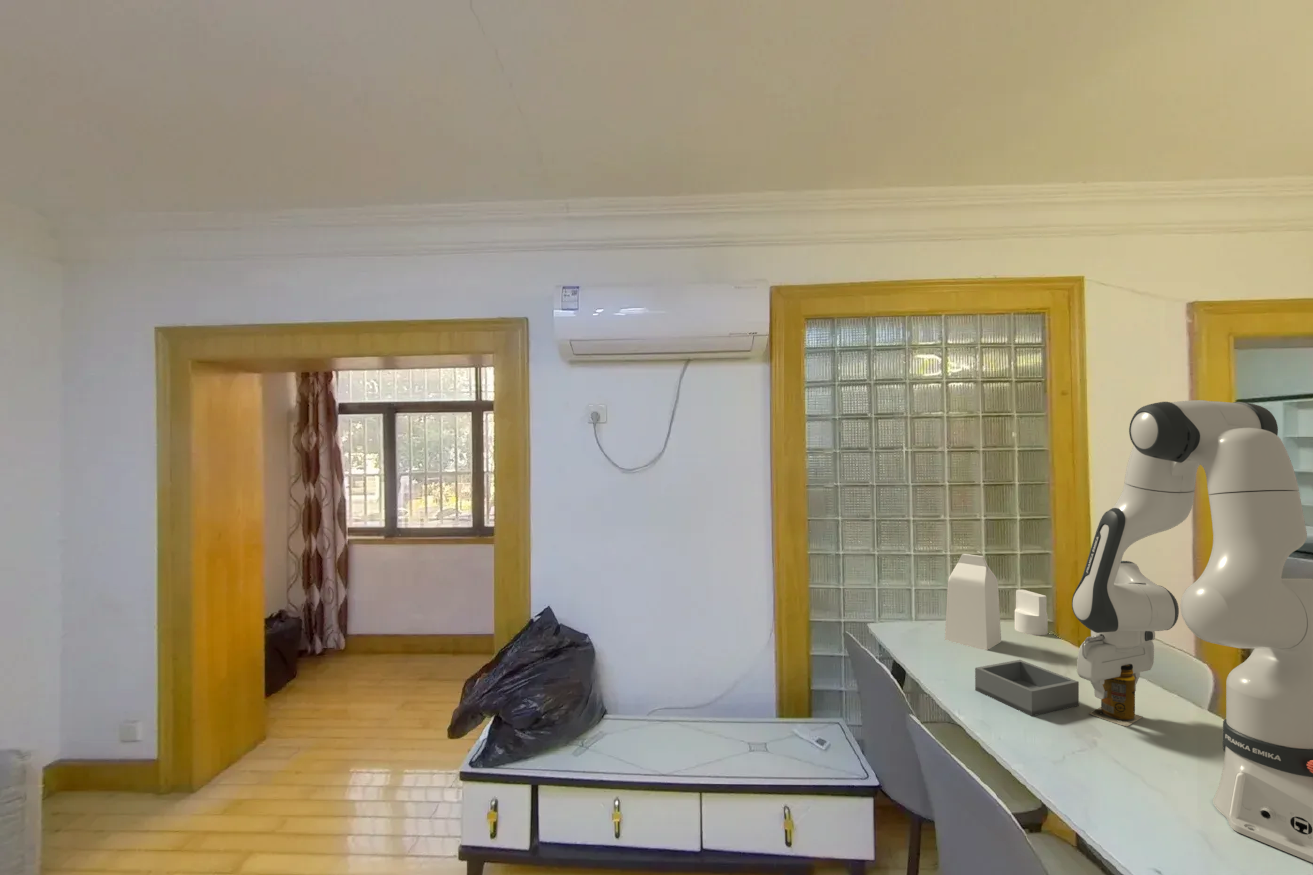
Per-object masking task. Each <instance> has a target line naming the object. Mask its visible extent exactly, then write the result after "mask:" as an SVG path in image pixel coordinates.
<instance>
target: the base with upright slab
mask: <svg viewBox="0 0 1313 875" xmlns="http://www.w3.org/2000/svg"><path fill="white" fill-rule="evenodd" d="M1048 618H1049V617H1048V613H1047V596H1046V595H1044V594H1040V593H1037V592H1033V591H1030V590H1026V589H1015V609H1014V630H1015V631H1016V632H1019V633H1021V634H1026V635H1031V636H1033V635H1034V636H1045V635H1047V634H1048V629H1049V628H1048V626H1049V624H1048V623H1049V622H1048V621H1049V620H1048Z"/></svg>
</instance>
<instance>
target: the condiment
mask: <svg viewBox="0 0 1313 875" xmlns="http://www.w3.org/2000/svg"><path fill="white" fill-rule="evenodd" d="M1102 685H1103V688H1104V690H1106V691H1107V698H1105V699H1100V707H1098V708H1095V709H1093V710H1092V711H1089V713H1088V714H1090V715H1092V717H1097V718H1100V719H1102V720H1105V721H1108V722H1110V723H1114V724H1117V725H1120V726H1123V727H1129V726H1130V725H1132V724H1133V723H1135V722H1137V721H1139V720H1140V719H1142V718H1143V716H1142V715H1140V714H1136V694H1135V693H1136V691H1135V677H1134V676H1133V665H1132V664H1129V665H1123V666H1121V675H1120V676H1119V677H1115V678H1111V679H1106V680H1104V684H1102Z"/></svg>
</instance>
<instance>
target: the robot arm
mask: <svg viewBox="0 0 1313 875" xmlns="http://www.w3.org/2000/svg"><path fill="white" fill-rule="evenodd" d="M1278 429H1279V428H1278V422H1277V420H1276V418H1275V416H1274V415H1273V413H1272V412H1271V411H1270V410H1268V408H1266V407H1265V406H1264V407H1263V406H1261V405H1258V404H1253V403H1250V402H1244V401H1233V402H1228V401H1227V402H1226V401H1212V400H1204V399H1203V400H1202V399H1199V400H1198V399H1193V400H1181V401H1172V402H1171V401H1160V402H1154V403H1150V404H1149V403H1148V404H1147V405H1143V406H1141V407H1140V408H1138V409H1137V410H1136V411H1135V413H1134V414H1133V416H1132V418H1131V420H1130V422H1129V428H1128V433H1129V438H1130V441H1131V443H1132V444H1133V446H1132V448H1131V450H1130V451H1131V452H1130V455H1129V458H1128V462H1127V465H1126V470H1125V475H1124V483H1123V488H1122V490H1121V493H1120V496H1119V498H1118V499H1117V501H1116V503H1115V504H1114V505H1113V506H1112V508H1110V509H1109V510H1107V511H1105V512H1104V514H1103V515H1102V516H1101V518H1100V520H1099V523H1098V526H1097V529H1096V532H1095V533H1094V534H1095V535H1094V537H1093V539H1092V540H1093V541H1092V543H1091V544H1092V545H1091V547H1090V551H1089V554H1088V557H1087V561H1086V563H1085V567H1084V571H1083V572H1082V573H1083V574H1082V576H1081V579H1080V580H1079V583H1078V585H1077V586H1076V588H1075V590H1074V592H1073V595H1072V598H1071V609H1072V612H1073V615H1074V616H1075V618H1076V619H1077V620H1078V621H1079V622H1080V623H1081V624H1082V625H1083V626H1085V628H1087V629H1089V630H1090V636H1087V637H1085V640H1084V641H1083V642H1082V643H1081V645H1080V646H1079V649H1078V653H1077V661H1076V673H1077V675H1078V677H1079V678H1082V679H1084V680H1086V681H1089V682H1090V684H1091V686H1092V687H1093V689H1094V697H1096V698H1097V699H1100V700H1101V699H1105V698H1107V691H1106V690H1104V688H1103V685H1102V684H1104V680H1106V679H1111V678H1115V677H1119V676H1120V675H1121V666H1123V665H1129V664H1132V665H1133V676H1134V677H1135V692H1136V691H1137V683H1138V681H1139V679H1140V678H1141V673H1143V672H1148V671H1151V670H1152V667H1153V666H1154V663H1155V661H1154V660H1155V644H1154V642H1153V641H1155V639H1156V632H1163V631H1168V630H1171V629H1172V628H1173V627H1175V625H1176V623H1177V622H1178V619H1179V613H1180V614H1181V617H1182V619H1183V622H1184V623H1185V625H1186V626H1187V628H1188V629H1189V630H1190V632H1192V633H1193V635H1195V636H1196V637H1197V638H1199V639H1200V640H1202V641H1204V642H1207V643H1211V644H1214V645H1215V644H1216V645H1218V646H1219V645H1220V646H1225V647H1231V648H1234V649H1235V648H1236V649H1252V652H1251V653H1250V655H1249V657H1247V659H1245V660H1244V662H1242V663H1240V664H1239V665H1237V666H1235V667H1234V668H1233V669H1232V670H1231V671H1230V672H1229V674H1228V675H1227V677H1226V685H1225V686H1226V688H1225V689H1226V690H1225V691H1226V692H1225V693H1226V694H1225V695H1226V697H1225V698H1226V700H1225V702H1226V703H1225V704H1226V706H1225V707H1226V708H1225V709H1226V710H1225V711H1226V713H1225V714H1226V715H1225V716H1226V717H1225V718H1224V720H1223V721H1222V732H1221V733H1222V735H1221V736H1222V737H1221V738H1222V749H1223V752H1224V759H1223V760H1224V761H1223V766H1222V772H1221V776H1220V781H1219V784H1218V787H1217V790H1216V792H1215V795H1214V797H1213V799H1212V803H1213V805H1214V807H1215V808H1216V809H1217V810H1218V811H1219V812H1220V813H1221V814H1222V815H1223V816H1224V817H1225V818H1226V819H1227V821H1228V824H1229V826H1230V828H1231V829H1232V830H1234V831H1235V832H1236V833H1239V834H1242V835H1244V836H1247V837H1248V838H1251V839H1254V840H1256V841H1259V842H1261V843H1263V844H1266V845H1268V846H1271V847H1273V848H1276V849H1278V850H1280V851H1283V852H1285V853H1288V854H1291V855H1292V856H1296V857H1298V858H1300V859H1302V860H1304V861H1307V862H1309V863H1312V864H1313V578H1282V577H1283V570H1284V567H1285V564H1286V561H1287V560H1288V558H1289V556H1290V555H1291V554H1293V553H1294V552H1296V551H1297V550H1299V549H1300V548H1302V547H1303V546H1304V544H1305V543H1306V542H1307V537H1308V532H1307V527H1306V522H1305V516H1304V515H1305V514H1304V511H1303V506H1302V505H1303V504H1302V501H1301V500H1302V499H1301V494H1300V489H1299V484H1298V480H1297V476H1296V472H1295V470H1294V467H1293V464H1292V461H1291V458H1290V456H1289V453H1288V451H1287V449H1286V447H1285V444H1284V442H1283V440H1281V438H1280V437H1279V436H1278V433H1279V432H1278V431H1279V430H1278ZM1200 466H1201V467H1202V468H1203V470H1204V472H1205V476H1206V485H1207V487H1206V488H1207V495H1208V501H1209V508H1210V515H1211V516H1210V517H1211V522H1212V523H1211V524H1212V526H1211V527H1212V535H1213V536H1212V538H1213V539H1212V547H1211V553H1210V556H1209V560H1208V562H1207V564H1206V566H1205V568H1204V570H1203V571H1202V573H1201V575H1199V577H1198V579H1197V580H1195V581H1194V582H1193V583H1192V584H1191V585H1189V586H1188V587H1187V588H1186V589H1185V590H1184V592H1183V593H1182V595H1181V598H1180V605H1179V604H1178V601H1177V598H1175V595H1173V592H1171V591H1170V590H1168V589H1167V588H1166V587H1164V586H1163V585H1158V584H1156V583H1155V582H1154V581H1152V580H1150V579H1149V578H1148V577H1146V576H1145V575H1144V574H1143V573H1142V572H1141V570H1140V568H1139V566H1138V564H1137V563H1135V562H1133V561H1129V560H1122V559H1123V557H1124V554H1125V553H1126V551H1127V549H1128V548H1129V547H1131V546H1132V545H1133V544H1136V543H1137V542H1138V541H1140V540H1143V539H1144V538H1147V537H1150V536H1152V535H1156V534H1159V533H1162V532H1166V531H1169V530H1171V529H1174V528H1175V527H1176V526H1178V525H1180V524H1182V523H1183V522H1185V521H1186V520H1187V518H1188V517H1189V516H1190V513H1191V511H1192V508H1193V505H1194V498H1195V491H1196V490H1195V489H1196V483H1197V471H1198V469H1199V467H1200ZM1179 606H1180V607H1179ZM1179 608H1180V611H1179Z"/></svg>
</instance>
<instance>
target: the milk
mask: <svg viewBox="0 0 1313 875" xmlns="http://www.w3.org/2000/svg"><path fill="white" fill-rule="evenodd" d="M998 581H999V580H998V579H997V577H996V575H995V574H994V572H993V571H992V570H991V568H990V566H988V563H987V560H986V558H985V556H983V555H977V554H969V553H962V554H961V555H960V557H959V560H958V561H957V563H956V565H955V567H954V568H953V570H952V571H951V573H950V575H949V577H948V580H947V592H946V594H947V595H946V612H945V629H944V630H945V633H944V641H945V640H949V641H952V642H951V643H953V642H956V643H955V644H957V643H960V644H959V645H962V644H963V646H965V647H966V646H967V647H970V646H971V648H974V649H979V650H983V649H985V650H984V651H988V649H989V650H990V649H992V648H993V647H995V646H996V645H999V643H1002V633H1001V632H1002V630H1001V614H1000V599H999V598H1000V595H999V594H1000V593H999V582H998ZM949 641H948V642H949Z"/></svg>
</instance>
